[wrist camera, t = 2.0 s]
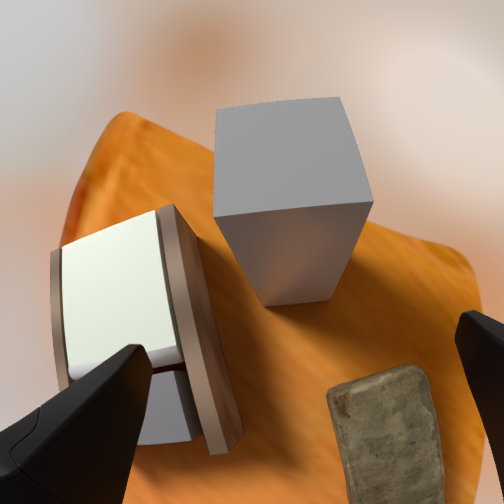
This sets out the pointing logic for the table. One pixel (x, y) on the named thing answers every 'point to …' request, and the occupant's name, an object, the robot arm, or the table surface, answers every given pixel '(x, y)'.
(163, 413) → the trapdoor flap
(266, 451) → the table surface
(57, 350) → the frame
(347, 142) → the granite pillar
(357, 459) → the stone block
